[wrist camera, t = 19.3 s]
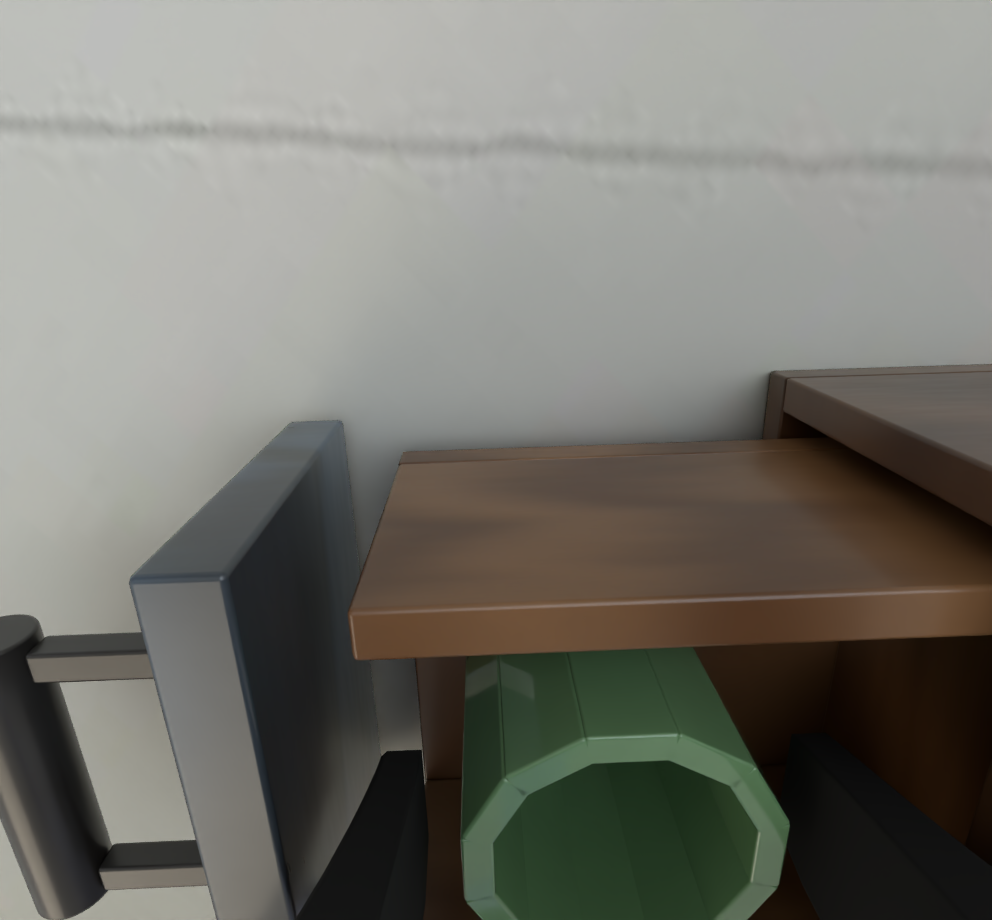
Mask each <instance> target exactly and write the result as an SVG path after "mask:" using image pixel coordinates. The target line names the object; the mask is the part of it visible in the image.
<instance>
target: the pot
mask: <svg viewBox="0 0 992 920" xmlns="http://www.w3.org/2000/svg"><path fill="white" fill-rule="evenodd" d="M789 830H790V824H789V818H788V816H787V815H786V813H785V811H784V809H783V807H782V805H781V803H780V802H779V800H778V798H777V796H776V794H775V792H774V791H773V789H772V787H771V785H770V783H769V781H768V779H767V778H766V776H765V774H764V772H763V770H762V768H761V766H760V765H759V763H758V761H757V759H756V757H755V755H754V754H753V752H752V750H751V748H750V746H749V744H748V742H747V741H746V739H745V737H744V735H743V733H742V731H741V730H740V728H739V726H738V724H737V722H736V720H735V718H734V717H733V715H732V713H731V711H730V709H729V707H728V705H727V704H726V702H725V700H724V698H723V696H722V694H721V693H720V691H719V689H718V687H717V685H716V683H715V681H714V680H713V678H712V676H711V674H710V672H709V670H708V669H707V667H706V665H705V663H704V661H703V659H702V657H701V656H700V654H699V652H698V650H697V648H696V647H682V648H658V649H633V650H608V651H583V652H558V653H533V654H508V655H483V656H466V660H465V695H464V731H463V767H462V802H461V838H460V841H461V857H462V873H463V889H464V898H465V900H466V902H467V904H468V905H469V906H470V907H471V908H472V910H473V911H474V912H475V913H476V914H477V915H478V916H479V917H480V918H481V919H482V920H748V919H749V918H750V917H751V916H752V915H753V914H754V913H755V912H756V911H757V910H758V909H759V908H760V906H761V905H762V904H763V903H764V902H765V901H766V900H767V899H768V898H769V897H770V896H771V895H772V894H773V893H774V892H775V891H776V890H777V888H778V885H779V884H780V879H781V874H782V868H783V863H784V857H785V852H786V847H787V841H788V836H789Z"/></svg>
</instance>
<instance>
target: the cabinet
mask: <svg viewBox="0 0 992 920" xmlns="http://www.w3.org/2000/svg"><path fill="white" fill-rule="evenodd" d="M824 437H830V438H832V439H834V440H836V441H838V442H840V443H841V444H843V445H845V446H847V447H849V448H850V449H852V450H854V451H856V452H858V453H860V454H861V455H863V456H865V457H867V458H869V459H870V460H872V461H874V462H876V463H878V464H879V465H881V466H883V467H885V468H887V469H889V470H890V471H892V472H894V473H896V474H898V475H899V476H901V477H903V478H905V479H907V480H908V481H910V482H912V483H914V484H916V485H918V486H919V487H921V488H923V489H925V490H927V491H928V492H930V493H932V494H934V495H936V496H937V497H939V498H941V499H943V500H945V501H947V502H948V503H950V504H952V505H954V506H956V507H957V508H959V509H961V510H963V511H965V512H967V513H968V514H970V515H972V516H974V517H976V518H977V519H979V520H981V521H983V522H985V523H986V524H988V525H990V526H992V364H983V365H951V366H920V367H888V368H857V369H825V370H794V371H773V372H771V377H770V385H769V393H768V400H767V408H766V416H765V424H764V432H763V440H764V439H794V438H824ZM964 846H966V847H967V848H968V849H969V850H971V851H972V852H973V853H975V854H976V855H977V856H979V857H980V858H981V859H982V860H984V861H985V862H986V863H988V864H989V865H990V866H992V760H991V763H990V766H989V769H988V772H987V776H986V779H985V782H984V785H983V788H982V791H981V794H980V798H979V801H978V804H977V807H976V810H975V813H974V816H973V820H972V823H971V826H970V829H969V832H968V835H967V838H966V842H965V845H964Z"/></svg>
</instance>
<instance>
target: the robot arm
mask: <svg viewBox="0 0 992 920" xmlns="http://www.w3.org/2000/svg"><path fill="white" fill-rule="evenodd" d="M780 803H781V805H782V807H783V809H784V811H785V813H786V815H787V816H788V818H789V824H790V830H789V836H788V841H787V848H788V851H789V853H790V856H791V858H792V861H793V863H794V866H795V868H796V871H797V873H798V876H799V878H800V880H801V883H802V885H803V887H804V889H805V891H806V893H807V895H808V897H809V899H810V901H811V903H812V905H813V907H814V909H815V911H816V913H817V915H818V917H819V919H820V920H992V866H990V865H989V864H988V863H986V862H985V861H984V860H982V859H981V858H980V857H979V856H977V855H976V854H975V853H973V852H972V851H971V850H969V849H968V848H967V847H966V846H964V845H963V844H962V843H960V842H959V841H958V840H957V839H955V838H954V837H953V836H952V835H950V834H949V833H948V832H946V831H945V830H944V829H943V828H941V827H940V826H939V825H938V824H936V823H935V822H934V821H933V820H931V819H930V818H929V817H928V816H926V815H925V814H924V813H923V812H922V811H920V810H919V809H918V808H917V807H915V806H914V805H913V804H912V803H911V802H909V801H908V800H907V799H906V798H904V797H903V796H902V795H901V794H900V793H898V792H897V791H896V790H895V789H894V788H892V787H891V786H890V785H889V784H888V783H886V782H885V781H884V780H883V779H881V778H880V777H879V776H878V775H877V774H875V773H874V772H873V771H872V770H871V769H869V768H868V767H867V766H866V765H865V764H863V763H862V762H861V761H860V760H859V759H857V758H856V757H855V756H854V755H853V754H851V753H850V752H849V751H848V750H847V749H845V748H844V747H843V746H842V745H840V744H839V743H838V742H837V741H836V740H834V739H833V738H832V737H831V736H829V735H828V734H827V733H802V734H791V740H790V746H789V752H788V758H787V763H786V769H785V775H784V781H783V787H782V793H781V799H780ZM428 843H429V832H428V820H427V809H426V797H425V785H424V773H423V761H422V750H405V751H387V752H386V753H385V754H384V755H382V756H381V758H380V761H379V763H378V766H377V768H376V771H375V773H374V775H373V778H372V780H371V782H370V785H369V787H368V789H367V791H366V793H365V795H364V797H363V799H362V802H361V804H360V806H359V808H358V810H357V812H356V814H355V816H354V818H353V820H352V821H351V823H350V825H349V827H348V829H347V831H346V833H345V835H344V836H343V838H342V840H341V842H340V844H339V846H338V847H337V849H336V851H335V853H334V855H333V857H332V858H331V860H330V862H329V864H328V866H327V867H326V869H325V871H324V873H323V874H322V876H321V878H320V879H319V881H318V883H317V884H316V886H315V888H314V889H313V891H312V893H311V894H310V896H309V897H308V899H307V901H306V902H305V904H304V906H303V907H302V909H301V911H300V912H299V914H298V915H297V917H296V919H295V920H423V916H424V909H425V900H426V882H427V863H428Z"/></svg>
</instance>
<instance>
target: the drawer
mask: <svg viewBox="0 0 992 920" xmlns="http://www.w3.org/2000/svg"><path fill="white" fill-rule="evenodd" d="M129 585H130V589H131V593H132V596H133V600H134V604H135V608H136V612H137V616H138V619H139V623H140V627H141V631H142V632H136V633H110V634H84V635H59V636H47V637H45V638H44V635H43V632H42V629H41V626H40V623H39V621H38V620H37V619H36V618H34V617H33V616H29V615H8V616H2V617H0V819H1V822H2V824H3V827H4V829H5V832H6V834H7V837H8V839H9V842H10V844H11V847H12V849H13V852H14V854H15V857H16V859H17V862H18V864H19V867H20V869H21V872H22V874H23V877H24V879H25V882H26V884H27V887H28V889H29V892H30V894H31V897H32V899H33V902H34V904H35V907H36V909H37V911H38V913H39V914H40V915H41V916H42V917H43V918H46V919H49V920H63V919H67V918H70V917H73V916H76V915H78V914H80V913H82V912H84V911H85V910H87V909H89V908H90V907H91V906H93V905H94V904H95V903H96V902H98V901H99V900H100V899H101V898H102V897H103V896H104V895H105V894H106V892H107V891H108V890H120V889H142V888H163V887H185V886H206V885H208V888H209V892H210V895H211V899H212V903H213V907H214V911H215V915H216V918H217V920H295V919H296V917H297V915H298V914H299V912H300V911H301V909H302V907H303V906H304V904H305V902H306V901H307V899H308V897H309V896H310V894H311V893H312V891H313V889H314V888H315V886H316V884H317V883H318V881H319V879H320V878H321V876H322V874H323V873H324V871H325V869H326V867H327V866H328V864H329V862H330V860H331V858H332V857H333V855H334V853H335V851H336V849H337V847H338V846H339V844H340V842H341V840H342V838H343V836H344V835H345V833H346V831H347V829H348V827H349V825H350V823H351V821H352V820H353V818H354V816H355V814H356V812H357V810H358V808H359V806H360V804H361V802H362V799H363V797H364V795H365V793H366V791H367V789H368V787H369V785H370V782H371V780H372V778H373V775H374V773H375V771H376V768H377V766H378V763H379V761H380V758H381V751H380V743H379V734H378V725H377V717H376V708H375V699H374V690H373V682H372V673H371V664H370V660H383V659H408V658H415V664H416V676H417V688H418V700H419V711H420V723H421V735H422V747H423V759H424V770H425V782H426V783H425V797H426V809H427V820H428V832H429V843H428V863H427V882H426V900H425V909H424V916H423V920H482V919H481V918H480V917H479V916H478V915H477V914H476V913H475V912H474V911H473V910H472V908H471V907H470V906H469V905H468V904H467V902H466V900H465V898H464V889H463V873H462V857H461V841H460V838H461V802H462V767H463V731H464V695H465V660H466V656H483V655H508V654H533V653H558V652H583V651H608V650H633V649H658V648H682V647H696V648H697V650H698V652H699V654H700V656H701V657H702V659H703V661H704V663H705V665H706V667H707V669H708V670H709V672H710V674H711V676H712V678H713V680H714V681H715V683H716V685H717V687H718V689H719V691H720V693H721V694H722V696H723V698H724V700H725V702H726V704H727V705H728V707H729V709H730V711H731V713H732V715H733V717H734V718H735V720H736V722H737V724H738V726H739V728H740V730H741V731H742V733H743V735H744V737H745V739H746V741H747V742H748V744H749V746H750V748H751V750H752V752H753V754H754V755H755V757H756V759H757V761H758V763H759V765H760V766H761V768H762V770H763V772H764V774H765V776H766V778H767V779H768V781H769V783H770V785H771V787H772V789H773V791H774V792H775V794H776V796H777V798H778V800H779V802H780V799H781V793H782V787H783V781H784V775H785V769H786V763H787V758H788V752H789V746H790V740H791V734H802V733H827V734H828V735H829V736H831V737H832V738H833V739H834V740H836V741H837V742H838V743H839V744H840V745H842V746H843V747H844V748H845V749H847V750H848V751H849V752H850V753H851V754H853V755H854V756H855V757H856V758H857V759H859V760H860V761H861V762H862V763H863V764H865V765H866V766H867V767H868V768H869V769H871V770H872V771H873V772H874V773H875V774H877V775H878V776H879V777H880V778H881V779H883V780H884V781H885V782H886V783H888V784H889V785H890V786H891V787H892V788H894V789H895V790H896V791H897V792H898V793H900V794H901V795H902V796H903V797H904V798H906V799H907V800H908V801H909V802H911V803H912V804H913V805H914V806H915V807H917V808H918V809H919V810H920V811H922V812H923V813H924V814H925V815H926V816H928V817H929V818H930V819H931V820H933V821H934V822H935V823H936V824H938V825H939V826H940V827H941V828H943V829H944V830H945V831H946V832H948V833H949V834H950V835H952V836H953V837H954V838H955V839H957V840H958V841H959V842H960V843H962V844H963V845H965V842H966V838H967V835H968V832H969V829H970V826H971V823H972V820H973V816H974V813H975V810H976V807H977V804H978V801H979V798H980V794H981V791H982V788H983V785H984V782H985V779H986V776H987V772H988V769H989V766H990V763H991V760H992V526H990V525H988V524H986V523H985V522H983V521H981V520H979V519H977V518H976V517H974V516H972V515H970V514H968V513H967V512H965V511H963V510H961V509H959V508H957V507H956V506H954V505H952V504H950V503H948V502H947V501H945V500H943V499H941V498H939V497H937V496H936V495H934V494H932V493H930V492H928V491H927V490H925V489H923V488H921V487H919V486H918V485H916V484H914V483H912V482H910V481H908V480H907V479H905V478H903V477H901V476H899V475H898V474H896V473H894V472H892V471H890V470H889V469H887V468H885V467H883V466H881V465H879V464H878V463H876V462H874V461H872V460H870V459H869V458H867V457H865V456H863V455H861V454H860V453H858V452H856V451H854V450H852V449H850V448H849V447H847V446H845V445H843V444H841V443H840V442H838V441H836V440H834V439H832V438H830V437H824V438H794V439H764V440H735V441H705V442H676V443H646V444H617V445H587V446H557V447H528V448H498V449H469V450H439V451H409V452H403V454H402V456H401V459H400V462H399V467H398V470H397V473H396V476H395V478H394V481H393V484H392V487H391V490H390V493H389V496H388V498H387V501H386V504H385V507H384V510H383V513H382V515H381V518H380V521H379V524H378V527H377V530H376V533H375V535H374V538H373V541H372V544H371V547H370V550H369V553H368V555H367V558H366V561H365V564H364V567H363V570H362V573H361V575H360V568H359V559H358V551H357V542H356V533H355V524H354V516H353V507H352V498H351V490H350V481H349V472H348V463H347V455H346V446H345V437H344V428H343V423H342V421H338V420H336V421H305V422H291V423H290V424H288V425H287V426H286V427H285V428H284V429H283V430H282V431H281V432H280V433H279V434H278V435H277V436H276V437H275V438H274V439H273V440H272V441H271V442H270V443H269V444H268V445H267V446H266V447H265V448H264V449H263V450H261V451H260V452H259V453H258V454H257V455H256V456H255V457H254V458H253V459H252V460H251V461H250V462H249V463H248V464H247V465H246V466H245V467H244V468H243V469H242V470H241V471H240V472H239V473H238V474H237V475H236V476H234V477H233V478H232V479H231V480H230V481H229V482H228V483H227V484H226V485H225V486H224V487H223V488H222V489H221V490H220V491H219V492H218V493H217V494H216V495H215V496H214V497H213V498H212V499H211V500H210V501H209V502H207V503H206V504H205V505H204V506H203V507H202V508H201V509H200V510H199V511H198V512H197V513H196V514H195V515H194V516H193V517H192V518H191V519H190V520H189V521H188V522H187V523H186V524H185V525H184V526H183V527H182V528H180V529H179V530H178V531H177V532H176V533H175V534H174V535H173V536H172V537H171V538H170V539H169V540H168V541H167V542H166V543H165V544H164V545H163V546H162V547H161V548H160V549H159V550H158V551H157V552H156V553H155V554H154V555H152V556H151V557H150V558H149V559H148V560H147V561H146V562H145V563H144V564H143V565H142V566H141V567H140V568H139V569H138V570H137V571H136V572H135V573H134V574H133V575H132V576H131V578H130V582H129ZM129 679H154V681H155V685H156V688H157V692H158V696H159V700H160V704H161V708H162V711H163V715H164V719H165V723H166V727H167V731H168V734H169V738H170V742H171V746H172V750H173V754H174V757H175V761H176V765H177V769H178V773H179V777H180V780H181V784H182V788H183V792H184V796H185V800H186V803H187V807H188V811H189V815H190V819H191V823H192V826H193V830H194V834H195V838H196V840H183V841H161V842H139V843H117V844H114V845H113V846H112V844H111V841H110V838H109V835H108V831H107V828H106V825H105V822H104V819H103V816H102V813H101V810H100V807H99V804H98V801H97V798H96V795H95V792H94V788H93V785H92V782H91V779H90V776H89V773H88V770H87V767H86V764H85V761H84V758H83V755H82V752H81V748H80V745H79V742H78V739H77V736H76V733H75V730H74V727H73V724H72V721H71V718H70V715H69V712H68V709H67V705H66V702H65V699H64V696H63V693H62V690H61V687H60V684H59V682H80V681H105V680H129ZM748 920H820V919H819V917H818V915H817V913H816V911H815V909H814V907H813V905H812V903H811V901H810V899H809V897H808V895H807V893H806V891H805V889H804V887H803V885H802V883H801V880H800V878H799V876H798V873H797V871H796V868H795V866H794V863H793V861H792V858H791V856H790V853H789V851H788V848H787V847H786V852H785V857H784V863H783V868H782V874H781V879H780V884H779V885H778V888H777V890H776V891H775V892H774V893H773V894H772V895H771V896H770V897H769V898H768V899H767V900H766V901H765V902H764V903H763V904H762V905H761V906H760V908H759V909H758V910H757V911H756V912H755V913H754V914H753V915H752V916H751V917H750V918H749V919H748Z"/></svg>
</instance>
